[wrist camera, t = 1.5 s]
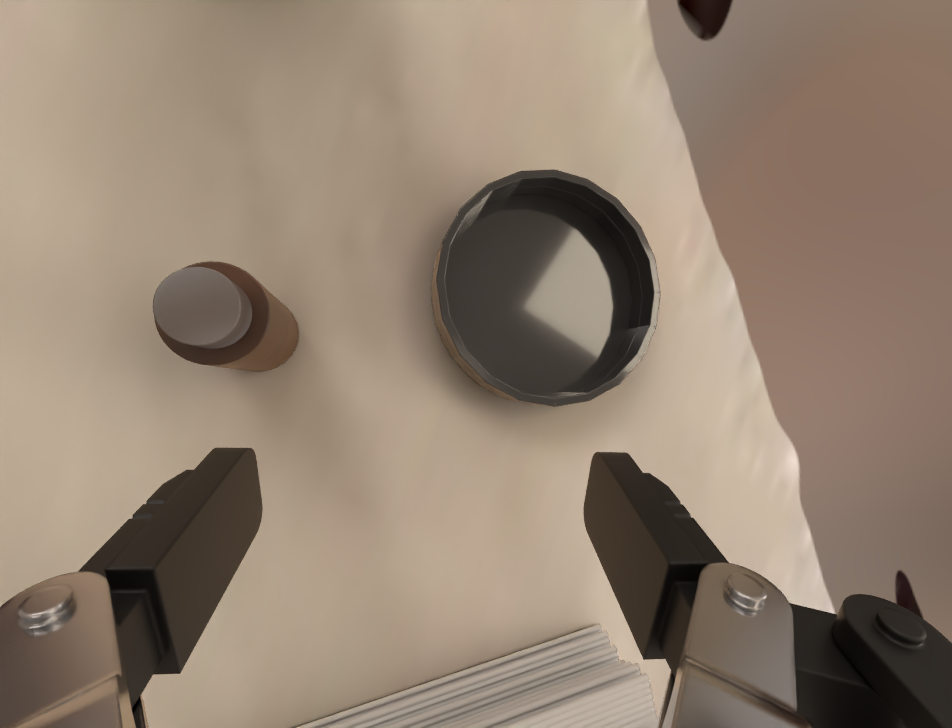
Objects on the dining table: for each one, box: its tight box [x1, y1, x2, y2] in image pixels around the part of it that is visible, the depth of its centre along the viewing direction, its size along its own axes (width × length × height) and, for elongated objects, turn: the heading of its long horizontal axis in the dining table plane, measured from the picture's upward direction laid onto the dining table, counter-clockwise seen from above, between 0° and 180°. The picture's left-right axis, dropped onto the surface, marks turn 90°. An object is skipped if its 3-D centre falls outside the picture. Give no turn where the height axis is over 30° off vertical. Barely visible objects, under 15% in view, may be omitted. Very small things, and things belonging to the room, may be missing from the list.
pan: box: [431, 170, 660, 407], centre depth 34 cm, size 17×17×4 cm
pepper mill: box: [153, 262, 299, 371], centre depth 25 cm, size 5×5×11 cm
